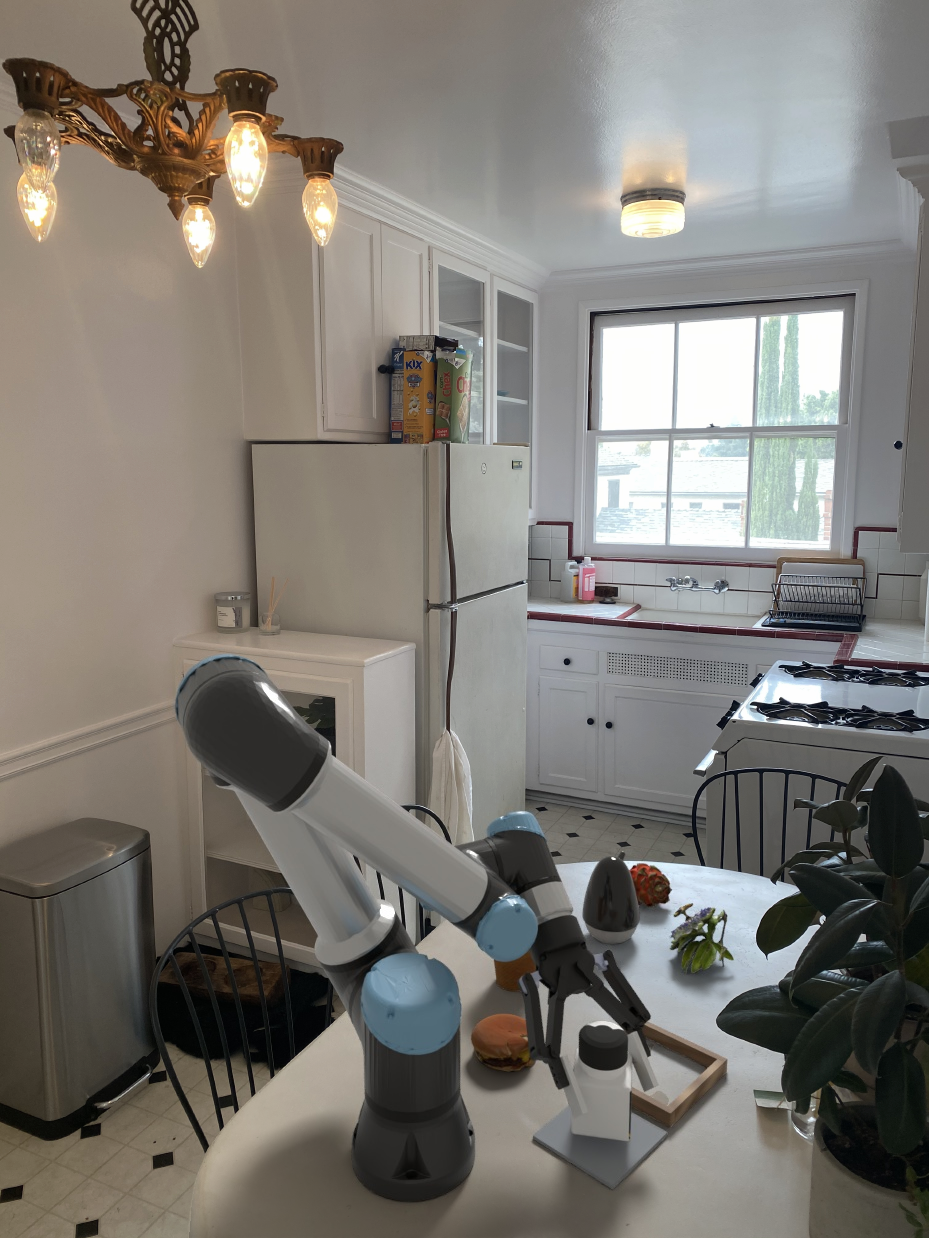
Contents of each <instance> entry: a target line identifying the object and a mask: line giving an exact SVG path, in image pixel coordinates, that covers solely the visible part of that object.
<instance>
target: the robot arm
mask: <svg viewBox="0 0 929 1238" xmlns="http://www.w3.org/2000/svg"><path fill="white" fill-rule="evenodd" d="M174 709H175V710H174V712H175V713H174V714H175V716H176V719H177V722H178V723H179V725H180V726H181V728H182V732H183V735H184V738H185V741H186V744H187V747H188V749H189V750H190V752H191V754H192V755H193V757H194V758H195V759H196V760H197V761H198V762H199V763H200V764H201V765H202V766H203V767H204V768H205V769H206V771H207V773H208V775H209V776H210V778H211V780H212V781H213V783H214V784H215V786H216V787H218V788H219V789H225V790H230V791H234V793H235V795H236V797H237V798H238V800H239V801H240V803H241V806H242V807H243V808H244V811H245V812H246V813H247V816H248V817H249V819H250V820H251V822H252V824H253V825H254V827H255V829H256V830H257V832H258V834H259V836H260V838H261V839H262V842H263V843H264V845H265V846H266V848H267V850H268V851H269V853H270V855H271V856H272V858H273V860H274V862H275V864H276V865H277V867H278V869H279V870H280V873H281V874H282V876H283V877H284V879H285V881H286V882H287V883H286V884H288V886H289V888H290V889H291V891H292V893H293V895H294V897H295V898H296V900H297V902H298V903H299V906H301V908H302V910H303V912H304V914H305V915H306V917H307V919H308V921H309V923H310V924H311V926H312V927H313V929H314V931H315V932H316V934H317V937H316V939H315V940H316V941H315V944H314V955H315V957H316V958H317V960H318V962H319V963H320V966H321V968H322V969H323V970H324V972H325V974H326V975H327V978H328V979H329V981H330V982H331V984H332V986H333V988H334V989H335V991H336V993H337V995H338V996H339V999H340V1001H341V1002H342V1004H343V1006H344V1009H345V1011H346V1013H347V1015H348V1018H349V1019H350V1021H351V1024H352V1025H353V1028H354V1030H355V1032H356V1034H357V1036H358V1040H359V1041H360V1043H361V1048H362V1054H363V1079H364V1080H363V1081H364V1099H363V1101H362V1105H361V1108H360V1111H359V1115H358V1119H357V1120H358V1121H357V1123H356V1125H355V1127H354V1130H353V1134H352V1137H351V1164H352V1165H351V1166H352V1168H353V1171H354V1174H355V1176H356V1177H357V1179H358V1180H359V1181H360V1183H362V1185H363V1186H364V1187H366V1188H367V1189H368V1190H370V1191H371V1192H372V1193H374V1194H376V1195H378V1196H381V1197H383V1198H387V1199H389V1200H394V1201H399V1202H419V1201H425V1200H430V1199H434V1198H437V1197H440V1196H442V1195H444V1194H446V1193H449V1192H450V1191H452V1190H454V1189H455V1188H456V1187H458V1186H459V1185H460V1184H461V1183H462V1182H463V1181H464V1180H465V1179H466V1178H467V1176H468V1175H469V1174H470V1172H471V1170H472V1168H473V1167H474V1164H475V1159H476V1135H475V1129H474V1126H473V1124H472V1120H471V1118H470V1115H469V1112H468V1110H467V1106H466V1104H465V1101H464V1098H463V1096H462V1093H461V1020H462V1019H461V1018H462V1003H461V1001H462V1000H461V997H460V996H461V995H460V988H459V985H458V981H457V978H456V976H455V975H454V973H453V972H452V970H451V969H450V968H449V967H448V966H447V965H446V964H444V962H442V961H441V960H439V959H437V958H435V957H432V958H430V959H429V957H428V955H427V954H423V953H420V952H419V951H418V950H417V948H416V946H415V944H414V942H413V941H412V938H411V937H410V936H409V933H408V932H407V930H406V927H405V926H404V924H403V922H402V920H401V919H400V916H399V915H398V913H397V911H396V910H395V908H394V906H393V905H392V903H390V902H389V901H388V900H385V899H379V898H375V895H374V894H373V891H372V890H371V888H370V886H369V885H368V883H367V881H366V879H365V877H364V875H363V873H362V872H361V870H360V868H359V866H358V864H357V863H356V861H355V859H354V857H355V858H357V859H359V860H360V861H361V862H363V863H364V864H366V865H367V866H368V867H370V868H372V869H373V870H375V871H376V872H377V873H379V874H380V875H382V876H383V877H384V878H386V879H388V880H389V881H390V882H392V883H393V884H395V885H396V886H398V887H399V888H400V889H402V890H404V891H405V892H406V893H408V894H409V895H411V896H412V897H414V898H415V899H416V900H418V902H419V904H420V906H421V907H422V908H423V910H425V911H428V912H435V913H436V914H438V915H439V916H441V917H442V918H443V919H445V920H447V921H448V922H449V923H450V924H451V925H453V926H454V927H455V928H457V929H459V931H461V932H463V933H464V934H465V935H467V936H469V937H470V938H471V939H472V940H473V941H474V942H475V943H476V944H477V946H478V948H479V949H480V950H481V951H482V952H484V953H485V954H486V955H487V956H489V957H490V958H491V959H492V960H493V961H494V960H497V961H502V962H508V961H513V960H516V959H518V958H520V957H521V956H523V955H524V954H525V953H526V952H527V951H528V950H529V952H530V955H531V957H532V960H533V961H534V963H535V966H536V970H535V972H534V973H531V974H530V973H526V974H524V975H523V976H522V977H521V978H520V979H519V980H518V981H517V984H518V987H519V989H520V991H519V992H520V994H521V996H522V999H523V1009H524V1019H525V1020H526V1028H527V1037H528V1047H529V1056H530V1059H531V1060H532V1061H535V1062H536V1061H542V1063H543V1064H545V1065H548V1068H549V1071H550V1073H551V1077H552V1080H553V1082H554V1084H555V1087H556V1088H557V1090H558V1091H559V1090H563V1093H564V1094H565V1097H566V1101H567V1103H568V1106H570V1109H571V1112H572V1115H573V1118H577V1117H579V1116H581V1115H583V1114H585V1113H587V1112H588V1110H587V1107H586V1104H585V1102H584V1099H583V1096H582V1093H581V1091H580V1088H579V1085H578V1082H577V1080H576V1077H575V1074H574V1071H573V1069H574V1068H573V1066H572V1064H571V1061H570V1058H569V1055H568V1054H566V1055H565V1054H564V1055H563V1056H561V1050H562V1049H561V1048H562V1038H563V1037H562V1036H563V1024H564V1013H565V1002H566V999H567V998H569V997H570V996H572V995H579V994H583V993H584V994H585V995H586V996H587V997H589V998H591V999H593V1000H594V1002H595V1003H596V1004H597V1005H598V1006H600V1008H601V1009H603V1010H604V1012H606V1014H607V1015H608V1016H609V1017H610V1018H611V1019H612V1020H613V1021H614V1022H615V1024H616V1025H618V1026H620V1027H621V1028H622V1029H623V1030H624V1031H625V1032H626V1033H627V1034H629V1035H627V1036H628V1053H630V1054H631V1055H632V1066H633V1067H634V1070H635V1073H636V1075H637V1077H638V1080H639V1083H640V1085H641V1087H642V1090H643V1093H645V1092H647V1091H650V1090H652V1089H654V1088H656V1087H659V1085H660V1084H659V1082H658V1079H657V1077H656V1075H655V1072H654V1069H653V1067H652V1065H651V1062H650V1060H649V1057H651V1056H652V1052H651V1049H650V1046H649V1044H648V1042H647V1038H645V1036H644V1034H643V1031H642V1028H643V1027H644V1024H645V1023H646V1022H647V1021H648V1022H649V1021H651V1018H652V1015H651V1013H650V1012H649V1010H648V1009H647V1007H646V1005H645V1004H644V1003H643V1001H642V999H641V998H640V997H639V996H638V994H637V993H636V991H635V989H634V988H633V986H632V985H631V984H630V982H629V981H628V979H627V978H626V976H625V975H624V973H623V972H622V970H621V969H620V968H619V966H618V964H617V962H616V958H615V955H614V952H613V951H612V950H610V949H606V950H605V951H603V952H602V953H597V954H596V953H595V954H593V953H592V952H591V951H590V950H589V948H588V946H587V943H586V942H587V941H586V938H585V935H584V933H583V930H582V927H581V925H580V923H579V920H578V918H577V916H575V915H573V912H574V907H573V905H572V903H571V900H570V897H569V895H568V892H567V890H566V888H565V885H564V884H563V881H562V879H561V877H560V874H559V871H558V868H557V866H556V863H555V861H554V858H553V856H552V853H551V851H550V848H549V844H548V840H547V838H546V836H545V835H544V831H543V830H542V828H541V826H540V824H539V822H538V820H537V818H536V817H535V815H534V814H533V813H531V812H529V811H527V810H525V811H524V810H517V811H511V812H509V813H507V814H506V815H503V816H499V817H497V818H495V819H494V820H493V821H492V822H490V823H489V824H488V825H487V827H486V830H485V831H486V832H485V833H486V837H485V838H482V839H479V840H473V841H469V842H466V843H462V844H461V843H459V844H457V845H453V844H452V843H450V842H449V841H448V840H446V839H445V838H444V837H442V836H441V835H439V834H438V833H437V832H436V831H434V830H433V829H432V828H430V827H429V826H428V825H426V824H424V822H422V821H421V820H420V819H418V818H416V817H415V816H414V815H413V814H411V813H410V812H409V811H407V810H406V809H405V808H404V807H402V806H401V805H399V804H398V803H397V802H396V801H394V800H393V799H392V798H390V797H389V796H388V795H387V794H385V793H384V792H382V791H381V790H380V789H378V788H377V787H375V785H373V784H372V783H370V782H369V781H367V779H365V778H363V777H362V776H361V775H359V774H358V773H357V772H356V771H354V770H353V769H351V768H350V767H349V766H348V765H346V763H343V762H342V761H341V760H340V759H338V758H336V756H334V755H332V754H333V753H332V745H331V742H330V741H329V740H328V739H327V738H326V737H324V736H323V735H322V734H320V733H319V732H318V731H316V730H315V729H314V728H312V727H311V725H309V723H308V722H307V721H305V719H303V717H302V716H301V715H300V714H299V713H298V712H297V711H296V710H295V708H294V707H293V706H292V705H291V704H290V702H289V700H287V698H286V697H285V696H284V694H283V693H282V692H281V690H280V689H279V688H278V686H276V684H274V682H273V681H272V680H271V678H270V677H269V676H268V673H267V672H266V671H265V670H264V669H263V668H262V666H261V665H260V664H258V663H256V662H255V661H254V660H253V659H252V660H251V659H249V658H246V657H244V656H240V655H237V654H230V653H223V654H216V655H212V656H209V657H206V658H204V659H202V660H201V661H198V662H197V663H196V664H195V665H193V666H192V667H191V668H190V669H189V670H188V671H187V672H186V673H185V675H184V676H183V677H182V679H181V680H180V683H179V685H178V687H177V691H176V694H175V699H174ZM352 855H353V856H354V857H353V856H352ZM595 967H596V968H597V971H600V972H601V974H602V976H603V977H604V979H605V981H606V982H607V984H608V985H609V986H610V988H611V990H612V991H613V992H614V994H615V995H616V996H615V995H614V994H613V992H611V990H610V989H608V988H607V987H606V986H605V983H604V981H603V980H602V979H601V978H600V977H599V976H598V975H597V974H596V973H595V972H594V971H595V970H594V969H595ZM540 984H542V985H543V986H544V987H545V988H546V989H548V990H547V991H548V995H547V1006H548V1007H547V1009H548V1010H547V1017H546V1018H547V1019H546V1027H545V1028H546V1029H545V1032H544V1024H543V1017H542V1016H543V1015H542V1008H541V1000H540V999H541V998H540V993H539V989H540V988H539V987H540ZM544 1033H545V1034H544Z"/></svg>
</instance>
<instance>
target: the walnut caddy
mask: <svg viewBox="0 0 929 1238" xmlns="http://www.w3.org/2000/svg"><path fill="white" fill-rule="evenodd" d="M642 1031H643V1034H644V1036H645V1039H646V1040H647V1039H648V1040H650V1041H652V1042H654V1043H655V1044H657V1045H660V1046H662V1047H664V1048H666V1049H668V1050H670V1051H672V1052H674V1053H675V1054H676V1053H677V1054H679V1055H680V1056H683V1057H684V1058H686V1059H689V1060H691V1061H693V1062H695V1063H697V1064H699V1065H701V1066H703V1067H706V1069H705V1070H704V1071H703V1072H702V1073H701V1074H700V1075H699V1076H698V1077H697V1078H696V1079H695V1080H693V1081H692V1082H691V1083H690V1084H689V1085H688V1086H687V1087H686V1088H685V1089H684V1090H683V1091H682V1092H681V1093H680V1094H679V1095H677V1096H676V1097H675V1098H674V1100H672V1101H671V1102H670V1103H669V1104H668V1105H667V1104H665V1103H663V1102H662V1101H659V1100H657V1099H656V1098H654V1097H653V1096H651V1095H648V1094H646V1093H645V1092H644V1091H643V1092H642V1091H641V1090H639V1089H636V1088H635V1087H634V1086H632V1102H631V1108H634V1109H635V1110H638V1111H639V1112H640V1113H643V1114H645V1115H647V1116H648V1117H650V1118H652V1120H653V1119H654V1120H655V1121H658V1122H659V1123H661V1124H663V1125H664V1126H667V1127H668V1128H672V1126H673V1125H675V1123H677V1121H678V1120H680V1119H681V1118H682V1117H683V1116H684V1115H685V1114H686V1113H687V1112H688V1111H689V1110H690V1109H691V1108H692V1107H693V1106H694V1105H695V1104H696V1103H697V1102H698V1101H699V1100H700V1099H701V1098H702V1097H703V1096H704V1095H705V1094H706V1093H707V1092H708V1091H710V1089H712V1088H713V1086H715V1084H716V1083H717V1082H718V1081H719V1080H720V1079H721V1078H723V1077H724V1076H725V1074H727V1072H728V1058H726V1057H725V1056H723V1055H720V1054H718V1053H715V1052H714V1051H711V1050H709V1049H707V1048H705V1047H703V1046H701V1045H698V1044H697V1043H694V1042H692V1041H691V1040H688V1039H686V1038H684V1037H682V1036H680V1035H677V1034H676V1033H673V1032H671V1031H669V1030H667V1029H664V1028H662V1027H660V1026H658V1025H656V1024H654V1023H652V1022H649V1021H647V1022H646V1023H645V1024H644V1027H643V1028H642ZM626 1034H627V1033H626ZM627 1035H629V1034H627Z"/></svg>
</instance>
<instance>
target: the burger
mask: <svg viewBox="0 0 929 1238" xmlns="http://www.w3.org/2000/svg"><path fill="white" fill-rule="evenodd" d="M470 1040H471V1044H472V1047H473V1051H474V1053H475V1056H476V1057H477V1059H478V1060H479V1061H480V1062H481V1063H482V1064H484V1065H486V1066H488V1067H489V1068H491V1069H493V1070H499V1071H504V1072H507V1073H510V1072H512V1071H514V1072H519V1071H520V1070H521V1069H522V1068H524V1067H531V1066H533V1065H534V1064H535V1062H536V1061H532V1060H531V1059H530V1056H529V1047H528V1037H527V1028H526V1019H525V1018H523V1017H521V1016H518V1015H515V1014H511V1013H510V1014H509V1013H497V1014H492V1015H490V1016H487V1017H485V1018H483V1019H481V1020H480V1021H479V1022H478V1023H477V1024H475V1026H474V1027H473V1029H472V1031H471V1035H470Z"/></svg>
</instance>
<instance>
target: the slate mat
mask: <svg viewBox="0 0 929 1238" xmlns="http://www.w3.org/2000/svg"><path fill="white" fill-rule="evenodd" d="M667 1136H668V1131H666V1130H664V1129H662V1128H661V1127H659V1126H657V1125H656V1124H653V1123H652V1122H650V1121H648V1120H646V1119H645V1118H642V1117H641V1116H639V1115H637V1114H635V1113H634V1112H632V1111H631V1133H630V1140H629V1141H622V1140H615V1139H607V1138H600V1137H592V1136H585V1135H578V1134H573V1133H572V1131H571V1109H570V1106H569V1105H568V1106H567V1107H565V1108H564V1109H563V1110H561V1111H560V1112H559V1113H558V1114H557V1115H556V1116H555V1117H553V1118H552V1119H550V1121H548V1122H547V1123H546V1124H544V1125H543V1126H542V1127H541V1128H540V1129H539V1130H537V1131H536V1132H535V1133H534V1134H532V1139H533V1140H534V1141H536V1143H539V1144H540V1145H542V1146H544V1147H545V1148H547V1149H548V1150H550V1151H551V1152H552V1153H555V1154H556V1155H557V1156H559V1157H561V1158H562V1159H564V1160H565V1161H567V1162H568V1163H570V1164H571V1163H572V1165H573V1166H574V1167H576V1168H577V1169H579V1170H581V1171H583V1172H584V1173H586V1174H587V1175H589V1176H590V1177H592V1178H593V1179H595V1180H597V1181H598V1182H600V1183H601V1184H603V1185H605V1186H606V1187H607V1188H609V1189H611V1190H614V1189H615V1188H616V1187H617V1186H619V1185H620V1183H621V1182H623V1180H624V1179H625V1178H626V1177H627V1176H628V1175H629V1174H630V1173H631V1172H633V1171H634V1170H635V1168H636V1167H637V1166H639V1165H640V1163H642V1161H644V1160H645V1158H646V1157H648V1155H650V1154H651V1153H652V1151H654V1150H655V1148H657V1147H658V1145H660V1143H662V1142H663V1141H664V1140H665V1139H666V1138H667Z"/></svg>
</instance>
